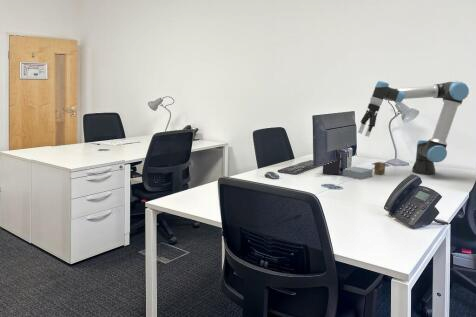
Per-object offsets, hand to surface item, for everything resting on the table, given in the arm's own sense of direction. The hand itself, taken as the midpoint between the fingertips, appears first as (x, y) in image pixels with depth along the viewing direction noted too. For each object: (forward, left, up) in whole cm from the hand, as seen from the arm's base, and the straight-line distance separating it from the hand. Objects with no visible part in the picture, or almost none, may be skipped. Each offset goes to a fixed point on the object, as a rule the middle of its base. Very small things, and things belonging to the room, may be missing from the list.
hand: (363, 134), depth 277 cm
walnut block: (-7, -13, -28) cm, 31 cm away
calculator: (+14, +14, -28) cm, 34 cm away
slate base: (-1, +5, -28) cm, 28 cm away
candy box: (+18, -8, -28) cm, 34 cm away
